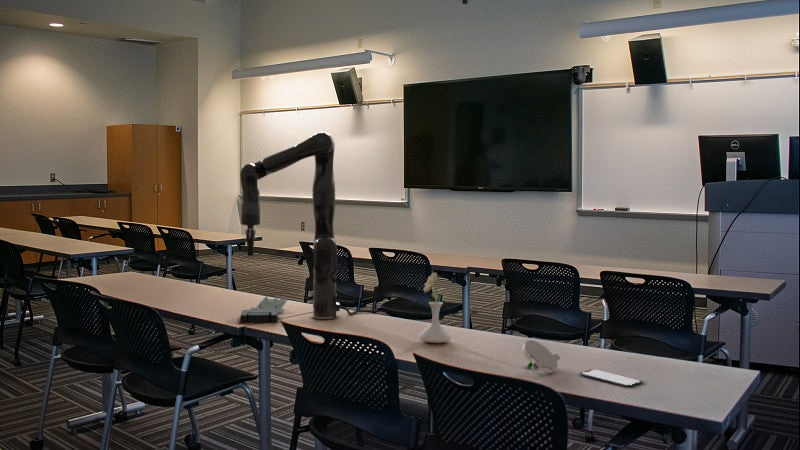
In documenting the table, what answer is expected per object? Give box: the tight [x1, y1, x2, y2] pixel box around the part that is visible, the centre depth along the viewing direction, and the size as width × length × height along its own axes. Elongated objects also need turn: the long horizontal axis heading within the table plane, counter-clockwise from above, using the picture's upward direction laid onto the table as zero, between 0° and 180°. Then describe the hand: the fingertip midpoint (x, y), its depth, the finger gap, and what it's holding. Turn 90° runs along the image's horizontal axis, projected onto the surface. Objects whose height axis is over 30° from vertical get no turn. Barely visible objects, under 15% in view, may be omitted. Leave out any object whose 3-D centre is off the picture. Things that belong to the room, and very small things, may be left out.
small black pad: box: [247, 313, 270, 324], centre depth 282 cm, size 8×5×3 cm, turn 99°
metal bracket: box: [249, 296, 288, 315], centre depth 306 cm, size 14×6×15 cm
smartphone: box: [579, 368, 642, 387], centre depth 205 cm, size 8×1×16 cm
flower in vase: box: [418, 271, 453, 344], centre depth 248 cm, size 13×11×25 cm
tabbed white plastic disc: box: [521, 339, 562, 374], centre depth 215 cm, size 15×8×11 cm, turn 143°
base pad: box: [239, 309, 278, 324], centre depth 285 cm, size 14×12×3 cm
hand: (250, 255), depth 292 cm, fingers closed
